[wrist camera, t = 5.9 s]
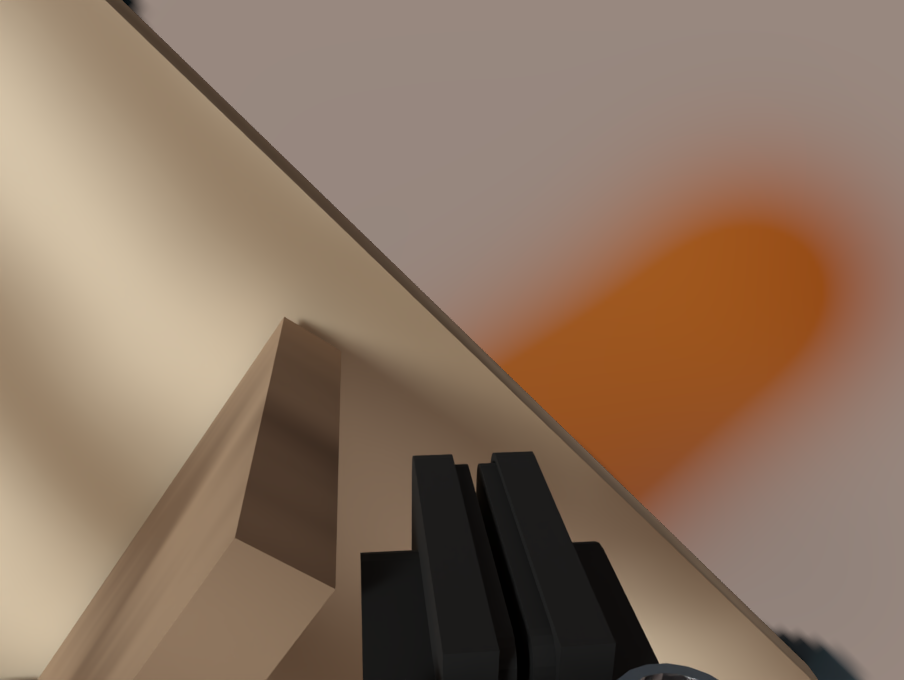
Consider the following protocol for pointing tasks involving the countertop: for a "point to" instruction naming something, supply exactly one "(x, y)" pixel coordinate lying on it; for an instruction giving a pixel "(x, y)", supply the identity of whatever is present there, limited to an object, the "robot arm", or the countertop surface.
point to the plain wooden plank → (229, 536)
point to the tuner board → (242, 353)
